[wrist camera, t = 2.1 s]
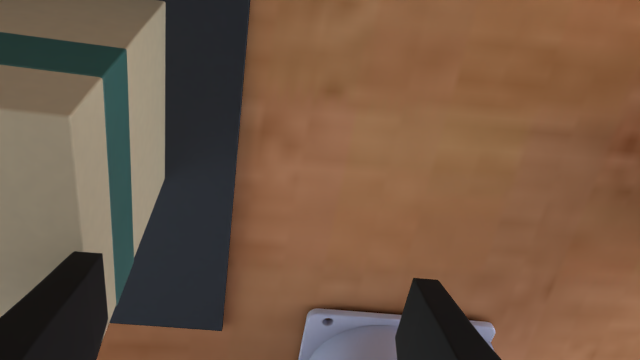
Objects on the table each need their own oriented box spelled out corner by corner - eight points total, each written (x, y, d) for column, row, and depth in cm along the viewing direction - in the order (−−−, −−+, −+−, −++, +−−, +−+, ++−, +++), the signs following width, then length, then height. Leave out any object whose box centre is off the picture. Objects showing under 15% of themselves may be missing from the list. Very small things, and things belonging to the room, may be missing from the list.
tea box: (166, 0, 18) (71, 115, 10) (165, 179, 21) (95, 363, 14) (22, -21, 17) (-196, 83, 9) (46, 166, 21) (-97, 351, 13)
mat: (262, -141, 16) (261, -141, 16) (222, 326, 26) (221, 331, 26) (-389, -257, 14) (-401, -260, 14) (-154, 298, 24) (-159, 303, 24)
